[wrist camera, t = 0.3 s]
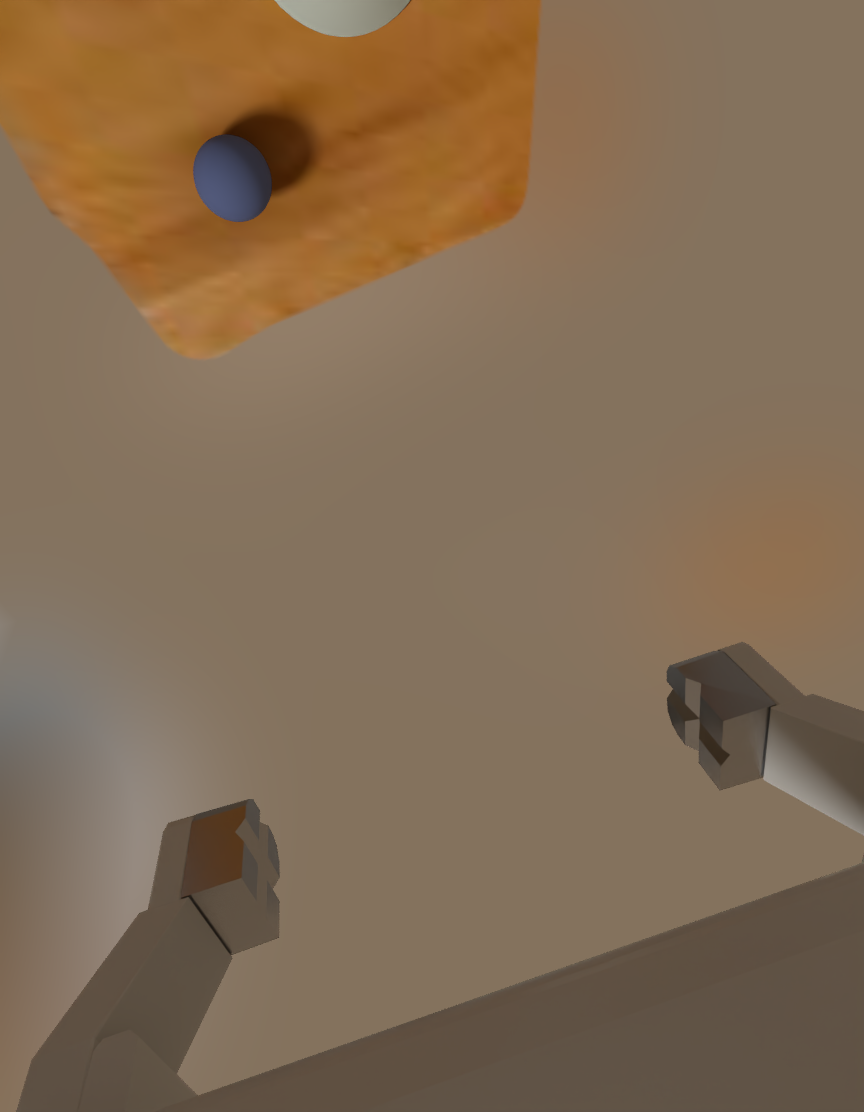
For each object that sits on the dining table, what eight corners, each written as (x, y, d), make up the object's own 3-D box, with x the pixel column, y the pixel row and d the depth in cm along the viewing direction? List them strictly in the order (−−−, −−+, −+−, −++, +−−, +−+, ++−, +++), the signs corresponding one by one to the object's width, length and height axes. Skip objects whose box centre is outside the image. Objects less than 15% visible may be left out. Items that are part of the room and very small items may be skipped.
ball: (209, 108, 45) (210, 129, 41) (280, 153, 48) (287, 176, 44) (182, 182, 48) (181, 207, 44) (251, 220, 51) (256, 247, 47)
